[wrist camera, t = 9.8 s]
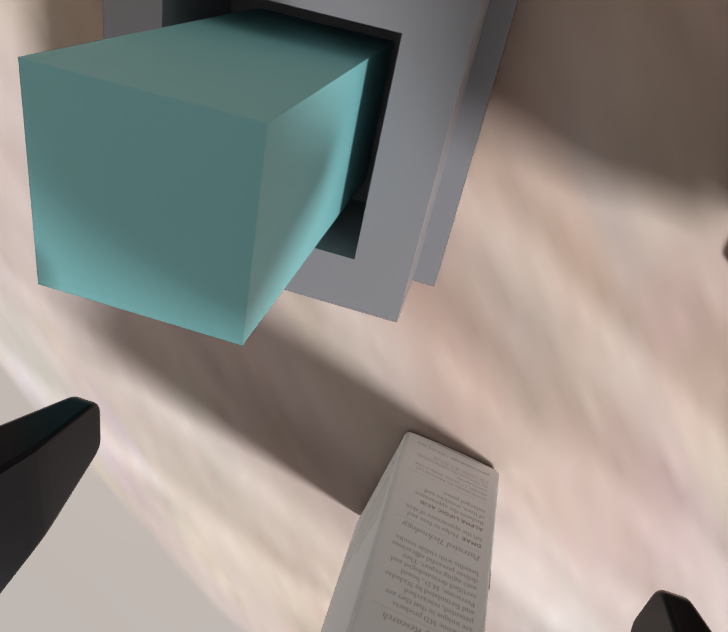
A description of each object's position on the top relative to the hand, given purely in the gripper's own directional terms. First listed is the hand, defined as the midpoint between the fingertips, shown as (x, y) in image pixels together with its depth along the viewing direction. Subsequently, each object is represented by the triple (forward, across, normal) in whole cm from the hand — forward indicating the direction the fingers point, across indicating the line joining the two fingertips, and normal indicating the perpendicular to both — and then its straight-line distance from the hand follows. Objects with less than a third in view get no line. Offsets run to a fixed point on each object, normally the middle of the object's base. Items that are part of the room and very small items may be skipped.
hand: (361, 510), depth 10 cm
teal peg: (+12, +5, -3) cm, 13 cm away
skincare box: (+13, -2, +12) cm, 18 cm away
